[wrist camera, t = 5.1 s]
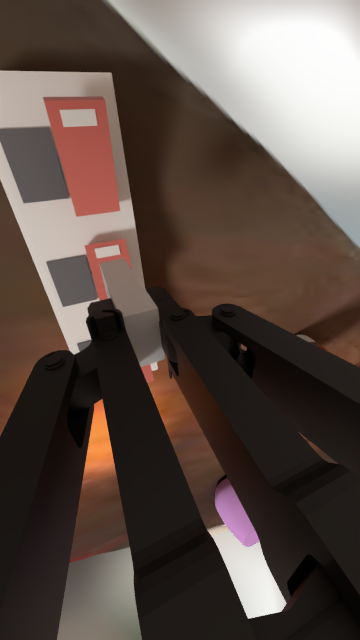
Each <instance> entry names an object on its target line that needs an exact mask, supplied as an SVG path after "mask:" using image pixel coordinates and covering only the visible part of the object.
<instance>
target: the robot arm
mask: <svg viewBox="0 0 360 640" xmlns="http://www.w3.org/2000/svg"><path fill="white" fill-rule="evenodd" d="M99 265H100V269H101V273H102V277H103V281H104V285H105V289H106V292H107V296H108V299H105V300H100V301H96V302H92V303H90V305H89V307H88V308H87V309H88V314H89V316H88V317H87V318H86V324H87V327H88V330H89V333H90V336H91V339H92V341H91V343H90V344H89V346H87V347H86V348H85V349H84V350H82V351H80V352H78V353H76V354H73V353H72V352H70V351H67V350H59V351H55V352H51V353H49V354H47V355H45V356H44V357H42V358H41V359H40V360H38V362H37V363H36V364H35V366H34V368H33V370H32V372H31V374H30V376H29V378H28V380H27V382H26V384H25V386H24V388H23V390H22V393H21V395H20V397H19V399H18V401H17V403H16V405H15V407H14V409H13V411H12V413H11V415H10V418H9V420H8V422H7V424H6V426H5V428H4V430H3V432H2V434H1V436H0V640H57V635H58V628H59V622H60V616H61V610H62V604H63V598H64V592H65V585H66V578H67V573H68V567H69V561H70V554H71V548H72V542H73V536H74V530H75V523H76V517H77V511H78V505H79V499H80V492H81V486H82V480H83V474H84V468H85V461H86V455H87V449H88V443H89V437H90V430H91V424H92V418H93V412H94V404H95V403H96V402H98V401H99V400H101V399H102V398H103V404H104V409H105V415H106V420H107V425H108V431H109V436H110V442H111V447H112V452H113V458H114V463H115V469H116V474H117V479H118V485H119V490H120V496H121V501H122V506H123V512H124V517H125V523H126V528H127V533H128V539H129V544H130V549H131V555H132V561H133V568H134V590H135V599H136V605H137V612H138V618H139V624H140V630H141V636H142V640H360V368H359V367H357V366H355V365H353V364H351V363H349V362H347V361H345V360H343V359H341V358H339V357H337V356H335V355H333V354H331V353H329V352H328V351H326V350H324V349H322V348H320V347H318V346H316V345H314V344H312V343H310V342H308V341H306V340H304V339H302V338H300V337H298V336H296V335H294V334H292V333H290V332H288V331H286V330H284V329H282V328H280V327H278V326H276V325H275V324H273V323H271V322H269V321H267V320H265V319H263V318H261V317H259V316H257V315H255V314H253V313H251V312H249V311H247V310H245V309H243V308H241V307H239V306H236V305H233V304H221V305H218V306H216V307H215V308H213V310H212V315H210V316H195V315H194V313H193V312H192V311H190V310H189V309H185V308H180V307H179V305H178V304H177V303H176V302H175V301H174V299H173V298H172V297H171V296H170V295H169V293H168V292H167V291H166V290H165V289H163V288H161V287H159V286H157V287H153V288H148V289H145V288H144V287H143V285H142V284H141V282H140V281H139V279H138V278H137V276H136V275H135V273H134V272H133V270H132V269H131V267H130V266H129V265H128V263H127V262H126V260H125V259H124V258H123V259H118V260H112V261H107V262H102V263H99ZM241 344H242V345H244V346H245V347H247V350H246V351H245V350H243V349H241ZM164 352H165V354H166V356H167V361H168V369H169V376H170V379H171V378H172V374H173V376H174V378H175V380H176V382H177V383H178V385H179V387H180V389H181V391H182V393H183V395H184V397H185V399H186V400H187V402H188V404H189V406H190V408H191V410H192V412H193V414H194V416H195V417H196V419H197V421H198V423H199V425H200V427H201V429H202V431H203V433H204V434H205V436H206V438H207V440H208V442H209V444H210V446H211V448H212V450H213V451H214V453H215V455H216V457H217V459H218V461H219V463H220V465H221V467H222V469H223V470H224V472H225V474H226V476H227V478H228V480H229V482H230V484H231V486H232V487H233V489H234V491H235V493H236V495H237V497H238V499H239V501H240V503H241V504H242V506H243V508H244V510H245V512H246V514H247V516H248V518H249V520H250V521H251V523H252V525H253V527H254V529H255V531H256V533H257V535H258V538H259V541H260V544H261V548H262V552H263V555H264V557H265V560H266V562H267V565H268V567H269V569H270V571H271V573H272V575H273V577H274V579H275V581H276V583H277V585H278V587H279V589H280V591H281V593H282V595H283V597H284V599H285V601H286V603H287V604H286V606H285V607H284V609H283V610H282V612H279V613H274V614H269V615H265V616H260V617H255V618H251V619H248V618H247V616H246V613H245V611H244V608H243V606H242V604H241V601H240V599H239V597H238V594H237V592H236V589H235V587H234V584H233V582H232V580H231V577H230V575H229V572H228V570H227V567H226V565H225V563H224V561H223V558H222V556H221V554H220V552H219V549H218V547H217V545H216V543H215V541H214V539H213V538H212V537H211V535H210V534H209V532H208V531H207V529H206V527H205V525H204V523H203V521H202V518H201V516H200V513H199V511H198V508H197V506H196V503H195V501H194V498H193V496H192V493H191V491H190V488H189V486H188V483H187V481H186V478H185V476H184V473H183V471H182V468H181V466H180V463H179V461H178V458H177V456H176V454H175V451H174V449H173V446H172V444H171V441H170V439H169V436H168V434H167V431H166V429H165V426H164V424H163V421H162V419H161V416H160V414H159V411H158V409H157V406H156V404H155V401H154V399H153V396H152V394H151V391H150V389H149V386H148V384H147V381H146V379H145V376H144V374H143V371H142V369H141V367H142V366H145V365H148V364H152V363H155V362H158V361H161V360H164V359H165V358H164ZM298 432H300V433H301V434H302V435H303V436H305V437H306V438H307V439H308V440H310V441H311V442H312V443H313V444H315V445H316V446H317V447H318V448H320V449H321V450H322V451H323V452H325V453H326V454H327V455H328V456H330V457H331V458H332V459H333V460H335V461H336V462H337V463H338V464H334V463H328V462H327V461H325V460H323V459H322V458H321V457H320V456H319V455H318V454H317V453H316V452H315V451H314V450H313V448H312V447H311V446H310V445H309V444H308V443H307V442H306V440H305V439H304V438H303V437H302V436H301V435H300V434H299V433H298Z"/></svg>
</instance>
